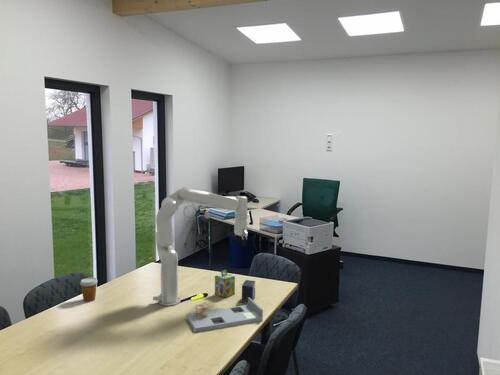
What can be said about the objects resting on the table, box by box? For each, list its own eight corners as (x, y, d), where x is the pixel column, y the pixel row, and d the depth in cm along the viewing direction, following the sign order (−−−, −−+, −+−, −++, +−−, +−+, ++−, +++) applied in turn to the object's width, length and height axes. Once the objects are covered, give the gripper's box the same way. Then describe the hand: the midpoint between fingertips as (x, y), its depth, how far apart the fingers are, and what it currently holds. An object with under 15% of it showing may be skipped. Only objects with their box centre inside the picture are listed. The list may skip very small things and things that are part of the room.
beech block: (198, 317, 205) (198, 308, 205) (195, 314, 210) (195, 305, 209) (207, 316, 207) (207, 307, 206) (204, 312, 212) (204, 303, 211)
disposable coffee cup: (101, 297, 238) (100, 277, 236) (93, 303, 228) (92, 283, 227) (85, 296, 238) (85, 277, 237) (77, 302, 229) (76, 282, 228)
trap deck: (195, 332, 193) (195, 320, 193) (186, 317, 210) (186, 306, 209) (262, 320, 207) (262, 309, 207) (249, 307, 224) (249, 297, 223)
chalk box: (225, 298, 238) (225, 274, 237) (214, 294, 244) (214, 271, 242) (235, 294, 245) (235, 270, 244) (224, 290, 251) (224, 267, 249)
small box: (252, 304, 230) (252, 286, 229) (241, 303, 231) (241, 285, 230) (255, 297, 240) (255, 280, 239) (245, 296, 241) (245, 279, 240)
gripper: (230, 214, 249) (230, 241, 251) (241, 219, 234) (240, 247, 235) (241, 213, 252) (240, 240, 254) (252, 218, 237) (252, 246, 238)
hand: (240, 243), depth 245 cm, fingers open, 9 cm apart
